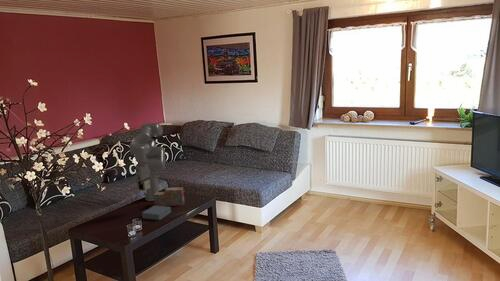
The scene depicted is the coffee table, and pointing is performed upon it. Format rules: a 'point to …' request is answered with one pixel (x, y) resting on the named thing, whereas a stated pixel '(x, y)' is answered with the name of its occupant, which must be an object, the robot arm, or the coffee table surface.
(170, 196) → the stack of blocks
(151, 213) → the slate base plinth
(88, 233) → the coffee table surface
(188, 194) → the coffee table surface
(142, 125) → the robot arm
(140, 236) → the coffee table surface
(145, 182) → the cream block
